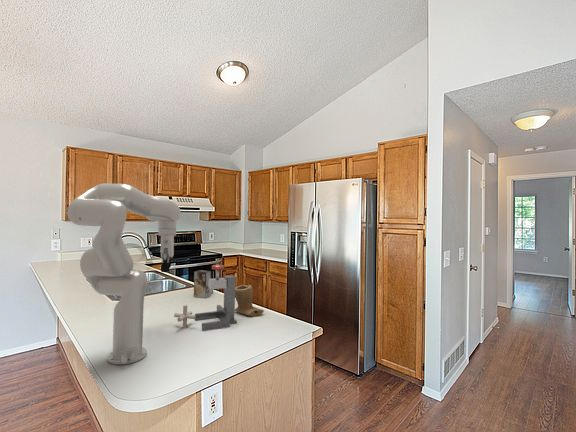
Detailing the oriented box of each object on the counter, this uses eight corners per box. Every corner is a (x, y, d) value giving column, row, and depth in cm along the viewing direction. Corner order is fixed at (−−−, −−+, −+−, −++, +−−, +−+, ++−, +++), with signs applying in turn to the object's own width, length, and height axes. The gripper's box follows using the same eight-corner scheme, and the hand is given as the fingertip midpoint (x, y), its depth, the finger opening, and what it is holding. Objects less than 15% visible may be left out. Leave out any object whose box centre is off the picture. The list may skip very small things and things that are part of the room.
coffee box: (211, 296, 197) (212, 271, 197) (205, 298, 191) (206, 272, 191) (198, 294, 200) (199, 269, 200) (193, 296, 194) (193, 271, 194)
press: (239, 325, 146) (240, 279, 146) (202, 330, 138) (204, 281, 138) (228, 315, 161) (229, 273, 161) (194, 319, 152) (195, 275, 152)
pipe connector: (189, 332, 136) (189, 309, 136) (168, 329, 138) (169, 307, 138) (199, 324, 146) (200, 303, 146) (180, 322, 148) (181, 301, 148)
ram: (226, 293, 149) (227, 266, 149) (211, 295, 145) (211, 267, 145) (222, 290, 154) (223, 264, 154) (207, 292, 150) (208, 265, 150)
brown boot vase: (228, 312, 165) (229, 284, 165) (245, 308, 174) (246, 281, 174) (247, 320, 154) (248, 290, 155) (264, 314, 163) (265, 286, 163)
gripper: (174, 233, 132) (173, 273, 132) (177, 231, 149) (176, 266, 149) (156, 233, 130) (154, 273, 130) (160, 230, 147) (159, 266, 147)
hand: (166, 269), depth 139 cm, fingers open, 9 cm apart
